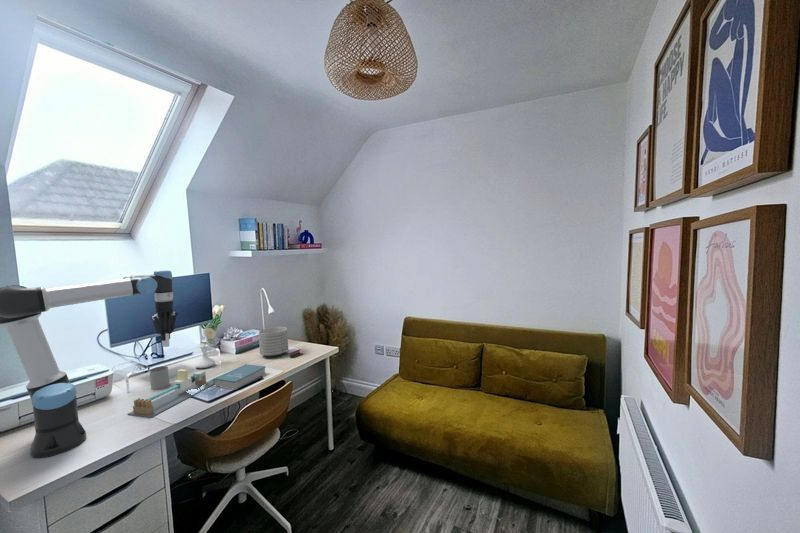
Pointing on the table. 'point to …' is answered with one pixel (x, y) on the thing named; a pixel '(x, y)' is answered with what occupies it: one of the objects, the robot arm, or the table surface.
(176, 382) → the sliding rod collar
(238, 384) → the book
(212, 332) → the flower in vase
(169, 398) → the cord rig
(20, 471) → the table surface
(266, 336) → the planter
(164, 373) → the cup
